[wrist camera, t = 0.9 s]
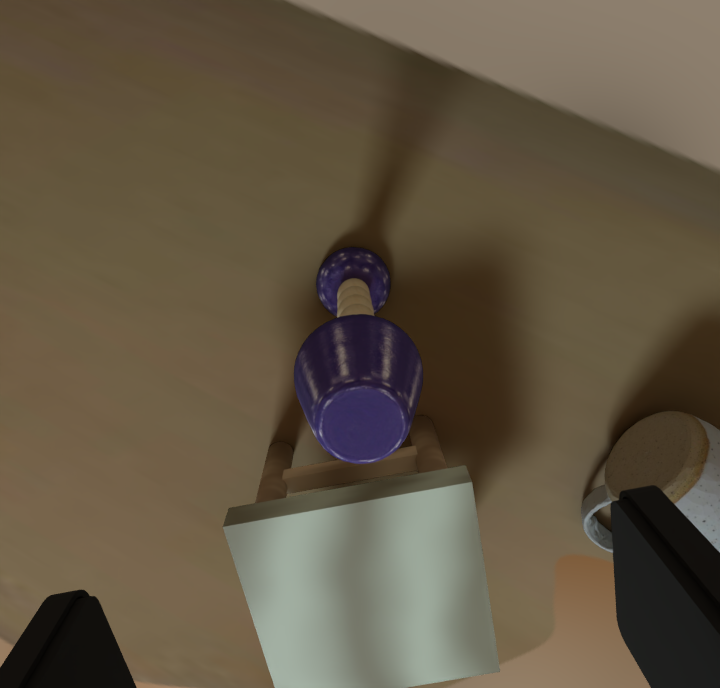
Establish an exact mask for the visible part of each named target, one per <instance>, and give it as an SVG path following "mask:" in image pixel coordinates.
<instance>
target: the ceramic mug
mask: <svg viewBox="0 0 720 688" xmlns="http://www.w3.org/2000/svg"><path fill="white" fill-rule="evenodd" d="M650 485H655V486H657V487H658V488H660V489H661V490H662V491H663V493H664V494H665V495H666V496H667V497H668V498H669V499H670V500H671V501H672V502H673V503H674V504H675V505H676V506H677V507H678V509H679V510H680V511H681V512H682V513H683V514H684V515H685V516H686V517H687V518H688V519H689V520H690V521H691V522H692V523H693V525H694V526H695V527H696V528H697V529H698V530H699V531H700V532H701V533H702V534H703V535H704V536H705V537H706V538H707V539H708V541H709V542H710V543H711V544H712V545H713V546H714V547H715V548H716V549H717V550H718V551H719V552H720V430H718V429H717V428H716V427H714V426H713V425H711V424H710V423H708V422H706V421H703V420H701V419H699V418H697V417H696V416H693V415H691V414H688V413H685V412H681V411H665V412H659V413H656V414H653V415H651V416H648V417H646V418H644V419H642V420H640V421H638V422H637V423H636V424H634V425H633V426H632V427H630V428H629V429H628V430H627V431H626V432H625V433H624V434H623V435H622V436H621V437H620V439H619V440H618V441H617V443H616V444H615V445H614V447H613V449H612V451H611V453H610V455H609V457H608V460H607V464H606V468H605V485H602V486H600V487H598V488H596V489H594V490H593V491H592V492H591V493H590V494H589V495H588V496H587V497H586V498H585V499H584V501H583V504H582V507H581V513H582V524H583V528H584V531H585V533H586V534H587V536H588V537H589V538H590V539H591V540H592V541H593V542H594V543H595V544H596V545H598V546H599V547H601V548H602V549H604V550H606V551H609V552H612V553H613V543H612V532H610V531H609V530H607V529H606V528H605V527H604V526H603V525H601V524H600V523H599V522H598V521H597V519H596V517H595V516H593V513H594V512H596V511H597V510H599V509H600V508H601V507H604V506H606V505H608V504H609V503H611V502H613V501H616V500H619V495H620V492H621V491H623V490H628V489H634V488H639V487H645V486H650Z"/></svg>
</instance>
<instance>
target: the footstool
mask: <svg viewBox="0 0 720 688" xmlns="http://www.w3.org/2000/svg"><path fill="white" fill-rule="evenodd" d="M409 435H410V439H411V443H412V446H410V447H405V448H399V449H397V450H396V451H395V452H394V453H392V454H391V455H389V456H388V457H386V458H384V459H382V460H380V461H377V462H373V463H367V464H355V463H350V462H345V461H342V460H340V459H339V460H334V461H328V462H323V463H318V464H312V465H307V466H301V467H296V468H291V465H292V459H293V449H292V447H291V446H290V445H289V444H287V443H285V442H276V443H273V444H272V445H271V446H270V447H269V449H268V453H267V457H266V461H265V465H264V469H263V473H262V477H261V481H260V485H259V489H258V493H257V497H256V502H255V503H254V504H249V505H243V506H238V507H232V508H229V509H228V512H227V515H226V519H225V522H224V525H223V529H224V532H225V535H226V538H227V541H228V544H229V548H230V551H231V554H232V557H233V560H234V563H235V566H236V569H237V572H238V575H239V578H240V581H241V585H242V588H243V591H244V594H245V597H246V600H247V603H248V606H249V609H250V612H251V615H252V618H253V622H254V625H255V628H256V631H257V634H258V637H259V640H260V643H261V646H262V649H263V652H264V656H265V659H266V662H267V665H268V668H269V671H270V674H271V677H272V680H273V683H274V686H275V688H406V687H412V686H418V685H424V684H430V683H436V682H442V681H448V680H454V679H459V678H465V677H471V676H477V675H483V674H489V673H495V672H500V668H499V661H498V654H497V648H496V641H495V634H494V627H493V621H492V614H491V607H490V600H489V593H488V587H487V580H486V573H485V566H484V559H483V553H482V546H481V539H480V532H479V525H478V519H477V512H476V505H475V498H474V492H473V485H472V480H471V478H470V475H469V473H468V470H467V467H466V465H463V466H458V467H452V468H447V465H446V462H445V458H444V455H443V452H442V449H441V446H440V443H439V440H438V437H437V434H436V431H435V428H434V425H433V422H432V420H431V419H430V418H428V417H426V416H416V417H414V418H413V422H412V425H411V428H410V431H409ZM416 470H418V474H414V475H408V476H403V477H397V478H392V479H386V480H381V481H375V482H370V483H364V484H359V485H353V486H348V487H342V488H337V489H331V490H326V491H320V492H315V493H309V494H304V495H298V496H293V497H287V498H286V496H287V494H289V493H295V492H300V491H306V490H311V489H317V488H322V487H328V486H333V485H339V484H344V483H350V482H355V481H361V480H366V479H372V478H377V477H383V476H388V475H394V474H399V473H405V472H410V471H416Z"/></svg>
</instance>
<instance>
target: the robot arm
mask: <svg viewBox="0 0 720 688" xmlns="http://www.w3.org/2000/svg"><path fill="white" fill-rule="evenodd" d="M611 525H612V543H613V560H614V577H615V595H616V613H617V621H618V626H619V629H620V632H621V635H622V637H623V639H624V641H625V643H626V645H627V647H628V648H629V650H630V652H631V654H632V655H633V657H634V659H635V661H636V662H637V664H638V666H639V667H640V669H641V671H642V673H643V675H644V676H645V678H646V680H647V681H648V683H649V685H650V687H651V688H720V552H719V551H718V550H717V549H716V548H715V547H714V546H713V545H712V544H711V543H710V542H709V541H708V539H707V538H706V537H705V536H704V535H703V534H702V533H701V532H700V531H699V530H698V529H697V528H696V527H695V526H694V525H693V523H692V522H691V521H690V520H689V519H688V518H687V517H686V516H685V515H684V514H683V513H682V512H681V511H680V510H679V509H678V507H677V506H676V505H675V504H674V503H673V502H672V501H671V500H670V499H669V498H668V497H667V496H666V495H665V494H664V493H663V491H662V490H661V489H660V488H658V487H657V486H655V485H650V486H645V487H639V488H634V489H628V490H623V491H621V492H620V495H619V500H616V501H613V502H611ZM0 688H136V685H135V683H134V681H133V678H132V676H131V674H130V672H129V669H128V667H127V665H126V662H125V660H124V658H123V655H122V653H121V651H120V649H119V646H118V644H117V642H116V639H115V637H114V635H113V632H112V630H111V628H110V625H109V623H108V621H107V619H106V616H105V614H104V612H103V609H102V607H101V605H100V602H99V601H98V599H97V598H96V597H95V596H89V594H88V593H87V592H86V591H85V590H76V591H71V592H65V593H60V594H54V595H51V596H49V597H47V598H46V599H45V601H44V602H43V603H42V605H41V606H40V608H39V609H38V611H37V612H36V614H35V615H34V617H33V618H32V620H31V621H30V623H29V625H28V626H27V628H26V629H25V631H24V632H23V634H22V635H21V637H20V638H19V640H18V641H17V643H16V644H15V646H14V647H13V649H12V651H11V652H10V654H9V655H8V657H7V658H6V660H5V661H4V663H3V664H2V666H1V667H0Z"/></svg>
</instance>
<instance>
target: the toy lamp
mask: <svg viewBox="0 0 720 688" xmlns="http://www.w3.org/2000/svg"><path fill="white" fill-rule="evenodd" d="M316 287H317V293H318V296H319V298H320V301H321V302H322V304H323V305H324V307H325V308H326V309H327V310H328V311H329V312H330V313H332V314H333V315H335V316H337V318H335V319H333V320H331V321H328V322H326V323H324V324H323V325H321V326H320V327H318V328H317V329H316V330H315V331H314V332H313V333H312V334H310V335H309V336H308V338H307V339H306V340H305V342H304V343H303V345H302V347H301V349H300V351H299V353H298V355H297V358H296V361H295V366H294V383H295V389H296V393H297V397H298V399H299V402H300V404H301V406H302V409H303V411H304V413H305V416H306V418H307V420H308V422H309V425H310V427H311V429H312V431H313V433H314V435H315V437H316V439H317V440H318V441H319V443H320V444H321V445H322V447H323V448H324V449H325V450H326V451H327V452H329V453H330V454H331V455H332V456H334V457H336V458H338V459H340V460H342V461H345V462H350V463H355V464H367V463H373V462H377V461H380V460H382V459H384V458H386V457H388V456H389V455H391V454H392V453H394V452H395V451H396V450H397V449H398V448H399V447H400V446H401V444H402V443H403V441H404V440H405V439H406V437H407V435H408V433H409V431H410V428H411V425H412V422H413V418H414V415H415V412H416V408H417V404H418V401H419V397H420V393H421V389H422V384H423V368H422V362H421V358H420V355H419V353H418V350H417V348H416V346H415V344H414V343H413V341H412V340H411V338H410V337H409V336H408V335H407V334H406V333H405V332H404V331H403V330H402V329H401V328H399V327H398V326H396V325H395V324H394V323H392V322H390V321H388V320H385V319H384V318H379V317H376V316H375V315H374V314H375V313H376V312H378V311H379V310H380V309H381V308H382V307H383V305H384V304H385V302H386V300H387V298H388V295H389V291H390V275H389V271H388V269H387V267H386V265H385V263H384V262H383V261H382V259H381V258H380V257H379V256H378V255H377V254H375V253H373V252H371V251H369V250H366V249H363V248H356V247H349V248H343V249H341V250H338V251H336V252H334V253H333V254H331V255H330V256H329V257H328V258H327V259H326V260H325V262H324V263H323V264H322V265H321V267H320V269H319V272H318V275H317V281H316Z"/></svg>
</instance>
